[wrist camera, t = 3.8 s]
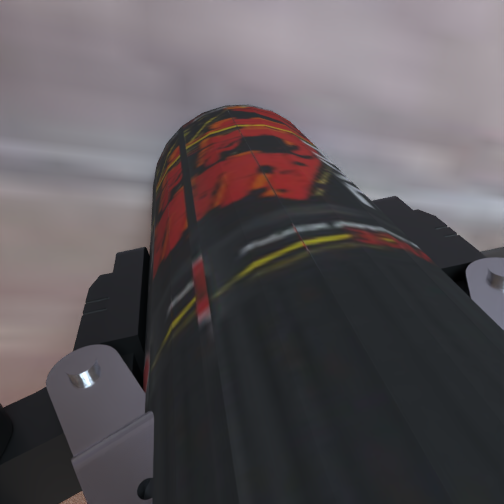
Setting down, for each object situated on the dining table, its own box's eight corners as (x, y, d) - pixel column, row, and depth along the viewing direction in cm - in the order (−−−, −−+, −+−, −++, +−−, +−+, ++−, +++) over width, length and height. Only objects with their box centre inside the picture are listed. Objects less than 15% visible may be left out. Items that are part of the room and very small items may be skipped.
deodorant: (345, 140, 16) (1165, 783, 3) (277, 276, 18) (557, 958, 5) (185, 76, 14) (500, 1200, 1) (133, 237, 16) (15, 1173, 3)
